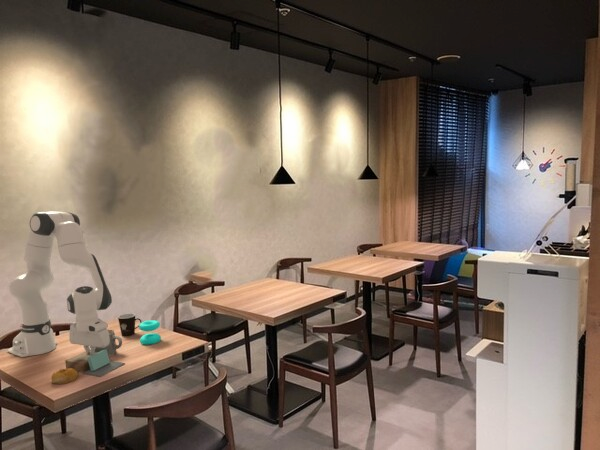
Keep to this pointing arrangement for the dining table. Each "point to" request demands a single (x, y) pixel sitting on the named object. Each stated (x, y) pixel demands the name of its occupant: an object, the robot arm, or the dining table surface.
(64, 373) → the bagel
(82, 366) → the brown block
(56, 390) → the dining table surface
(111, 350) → the coffee mug
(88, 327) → the robot arm
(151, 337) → the donuts
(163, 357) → the dining table surface
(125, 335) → the coffee mug
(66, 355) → the dining table surface
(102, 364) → the mint green block
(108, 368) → the mat
